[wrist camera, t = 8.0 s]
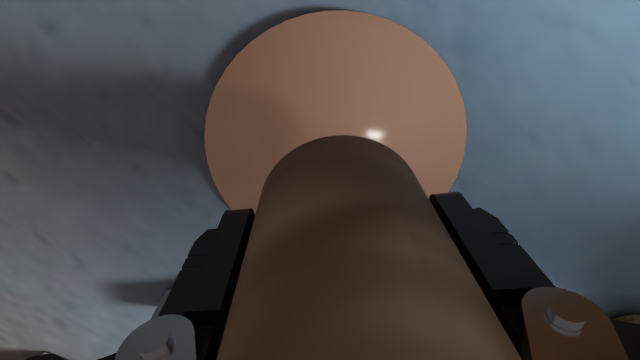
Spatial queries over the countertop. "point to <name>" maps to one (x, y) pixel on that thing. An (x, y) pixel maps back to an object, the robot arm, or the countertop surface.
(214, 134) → the terracotta saucer
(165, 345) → the robot arm
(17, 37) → the countertop surface
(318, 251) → the walnut cylinder
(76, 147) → the countertop surface
